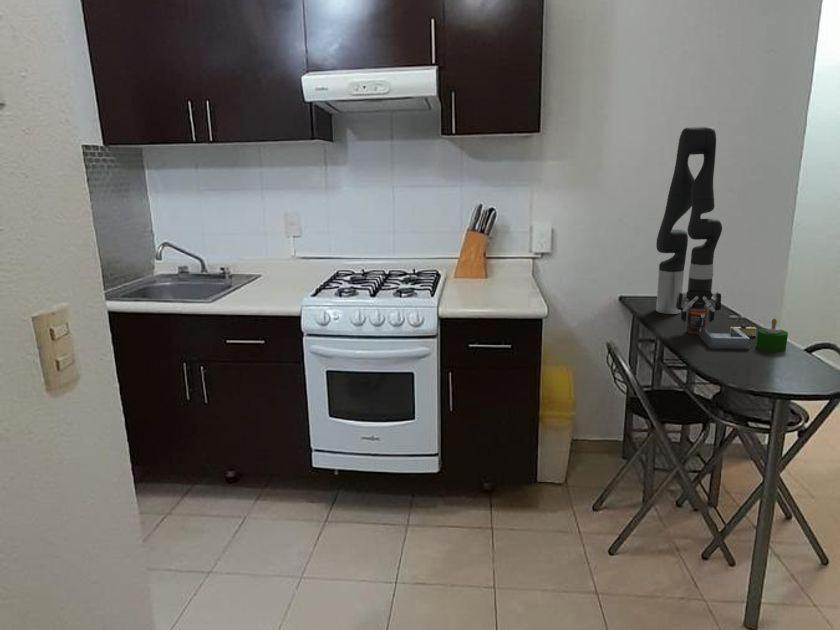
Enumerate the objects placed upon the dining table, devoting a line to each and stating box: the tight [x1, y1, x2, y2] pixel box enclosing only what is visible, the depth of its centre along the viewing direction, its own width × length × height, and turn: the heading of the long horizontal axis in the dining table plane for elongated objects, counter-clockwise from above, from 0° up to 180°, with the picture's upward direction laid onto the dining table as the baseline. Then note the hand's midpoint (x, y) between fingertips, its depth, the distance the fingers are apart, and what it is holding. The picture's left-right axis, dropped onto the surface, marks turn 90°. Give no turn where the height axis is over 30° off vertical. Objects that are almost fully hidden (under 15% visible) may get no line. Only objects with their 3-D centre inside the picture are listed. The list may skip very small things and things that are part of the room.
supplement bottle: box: [686, 303, 708, 335], centre depth 208 cm, size 6×6×11 cm
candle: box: [756, 317, 789, 353], centre depth 189 cm, size 8×8×10 cm
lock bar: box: [729, 323, 758, 338], centre depth 203 cm, size 2×8×4 cm, turn 79°
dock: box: [698, 326, 751, 350], centre depth 197 cm, size 14×12×4 cm
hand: (696, 321), depth 208 cm, fingers open, 8 cm apart
